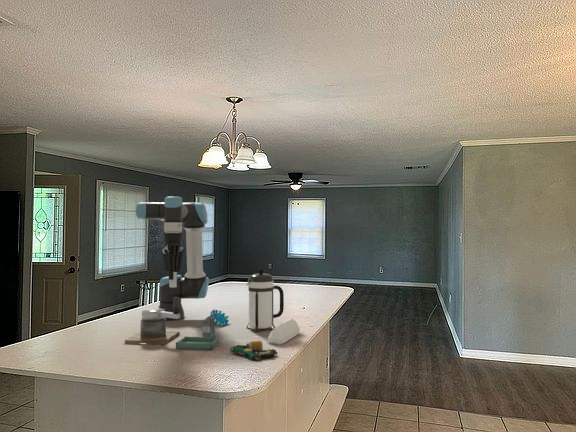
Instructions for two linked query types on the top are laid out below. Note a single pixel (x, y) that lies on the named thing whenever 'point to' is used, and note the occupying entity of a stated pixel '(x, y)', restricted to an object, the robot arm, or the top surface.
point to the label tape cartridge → (209, 325)
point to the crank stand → (153, 333)
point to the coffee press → (262, 301)
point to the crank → (161, 313)
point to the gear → (220, 318)
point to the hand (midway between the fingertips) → (172, 287)
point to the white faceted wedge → (284, 332)
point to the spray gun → (253, 351)
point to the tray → (197, 343)
